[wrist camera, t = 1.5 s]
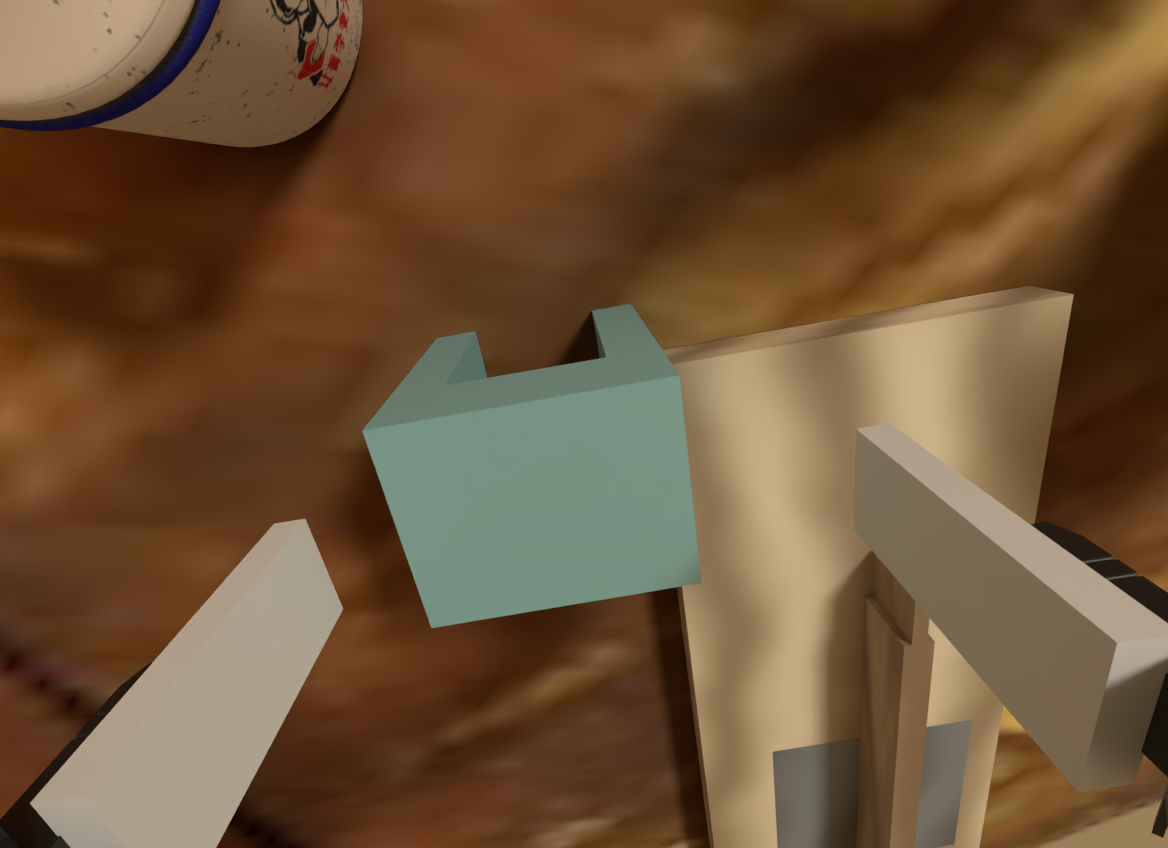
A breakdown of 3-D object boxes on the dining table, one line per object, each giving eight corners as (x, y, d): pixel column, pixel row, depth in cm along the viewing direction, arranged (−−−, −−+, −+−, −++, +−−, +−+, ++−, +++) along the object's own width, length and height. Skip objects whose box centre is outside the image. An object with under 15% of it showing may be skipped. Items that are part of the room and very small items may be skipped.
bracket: (474, 475, 24) (431, 628, 15) (437, 338, 21) (362, 430, 13) (649, 445, 24) (701, 582, 15) (630, 303, 21) (679, 375, 13)
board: (710, 853, 34) (734, 956, 30) (646, 352, 22) (671, 395, 17) (955, 815, 34) (1018, 913, 29) (1029, 285, 22) (1157, 311, 17)
